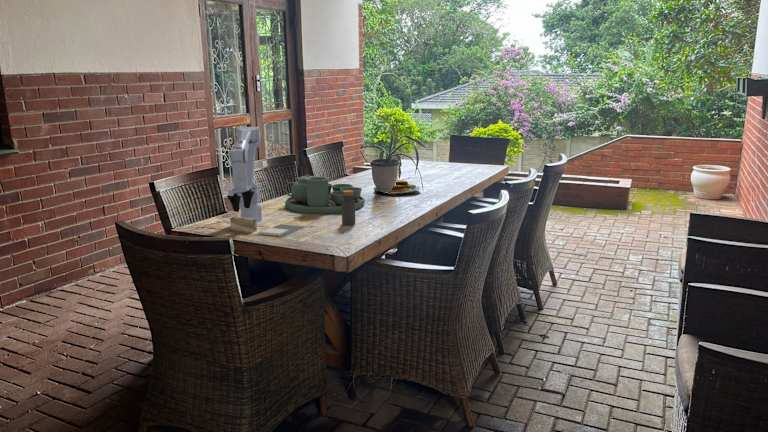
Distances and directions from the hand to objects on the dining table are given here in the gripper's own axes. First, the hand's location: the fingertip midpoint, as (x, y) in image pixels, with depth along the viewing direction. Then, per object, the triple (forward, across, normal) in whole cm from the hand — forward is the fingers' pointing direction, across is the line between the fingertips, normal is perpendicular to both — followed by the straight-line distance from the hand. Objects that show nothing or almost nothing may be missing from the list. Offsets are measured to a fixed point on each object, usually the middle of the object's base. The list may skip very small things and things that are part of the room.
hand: (241, 209), depth 254 cm
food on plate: (+10, +108, -29) cm, 112 cm away
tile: (+8, 0, -11) cm, 14 cm away
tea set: (+10, +60, -7) cm, 62 cm away
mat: (+9, +5, -16) cm, 19 cm away
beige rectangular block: (+10, 0, 0) cm, 10 cm away
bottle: (+10, +28, -36) cm, 47 cm away
